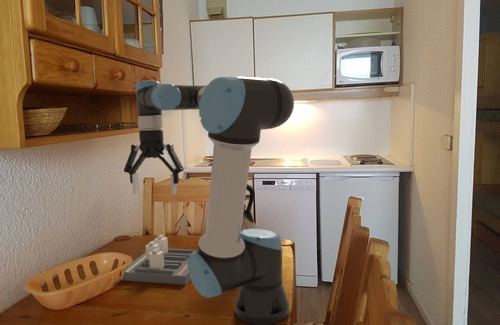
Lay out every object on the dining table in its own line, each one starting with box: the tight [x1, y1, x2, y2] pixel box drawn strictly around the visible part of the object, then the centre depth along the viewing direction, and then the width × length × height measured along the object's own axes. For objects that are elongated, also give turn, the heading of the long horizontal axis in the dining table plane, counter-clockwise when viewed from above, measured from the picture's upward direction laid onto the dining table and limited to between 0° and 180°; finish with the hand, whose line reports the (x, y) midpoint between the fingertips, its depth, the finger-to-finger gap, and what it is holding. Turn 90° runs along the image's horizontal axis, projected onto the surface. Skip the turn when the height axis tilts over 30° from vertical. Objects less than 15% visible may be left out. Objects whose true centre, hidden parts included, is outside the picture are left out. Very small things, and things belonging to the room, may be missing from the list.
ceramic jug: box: [241, 183, 259, 231], centre depth 139 cm, size 17×15×30 cm
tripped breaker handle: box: [149, 248, 164, 269], centre depth 127 cm, size 3×4×7 cm
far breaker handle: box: [153, 234, 169, 253], centre depth 142 cm, size 3×4×7 cm
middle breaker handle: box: [145, 240, 160, 260], centre depth 135 cm, size 3×4×7 cm
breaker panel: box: [121, 248, 198, 286], centre depth 135 cm, size 22×24×4 cm
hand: (155, 193), depth 122 cm, fingers open, 13 cm apart
